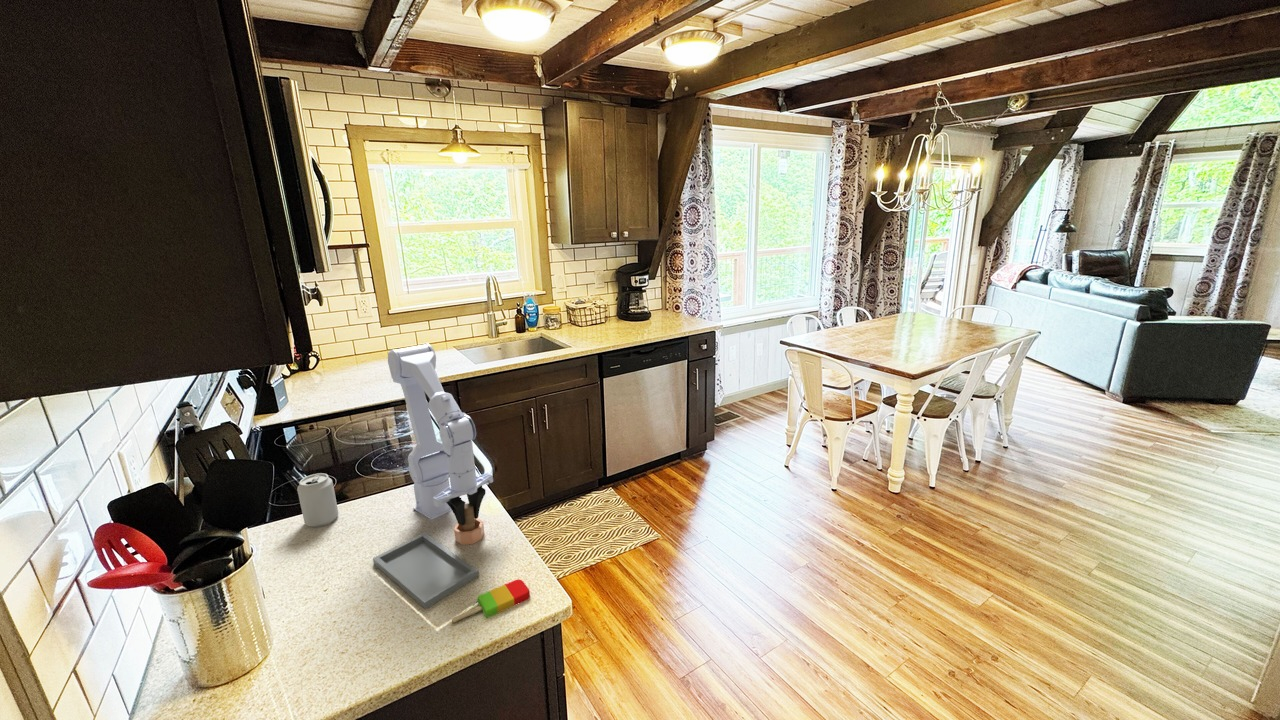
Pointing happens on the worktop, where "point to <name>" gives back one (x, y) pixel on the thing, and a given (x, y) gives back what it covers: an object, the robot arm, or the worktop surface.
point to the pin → (469, 518)
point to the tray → (425, 569)
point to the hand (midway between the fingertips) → (468, 520)
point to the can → (317, 500)
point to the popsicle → (499, 599)
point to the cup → (469, 533)
